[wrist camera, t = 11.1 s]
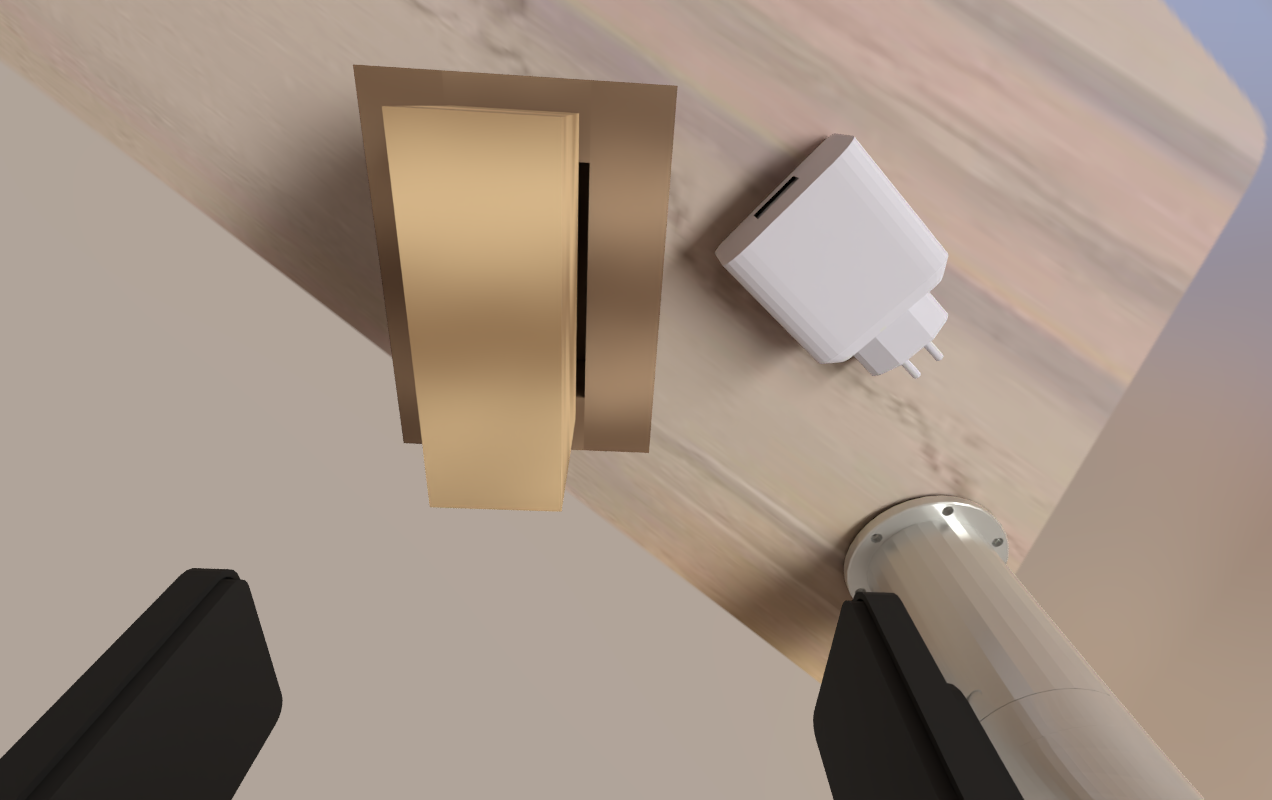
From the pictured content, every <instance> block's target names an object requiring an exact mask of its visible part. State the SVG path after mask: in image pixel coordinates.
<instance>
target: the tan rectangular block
mask: <svg viewBox="0 0 1272 800" xmlns="http://www.w3.org/2000/svg"><path fill="white" fill-rule="evenodd" d="M382 112H383V121H384V129H385V137H386V146H387V154H388V162H389V171H390V179H391V187H392V196H393V204H394V212H395V221H396V229H397V237H398V246H399V254H400V262H401V270H402V279H403V287H404V295H405V304H406V312H407V320H408V329H409V337H410V345H411V354H412V362H413V370H414V379H415V387H416V395H417V404H418V412H419V420H420V429H421V437H422V445H423V454H424V461H425V470H426V478H427V487H428V495H429V503H430V507H440V508H470V509H499V510H529V511H562V504H563V498H564V491H565V484H566V478H567V471H568V465H569V458H570V452H571V445H572V439H573V432H574V425H575V414H576V332H577V307H578V227H579V166H578V164H579V113H565V112H549V111H533V110H516V109H500V108H484V107H467V106H382Z"/></svg>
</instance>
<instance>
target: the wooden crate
mask: <svg viewBox="0 0 1272 800" xmlns="http://www.w3.org/2000/svg"><path fill="white" fill-rule="evenodd" d="M353 68H354V76H355V83H356V91H357V98H358V105H359V113H360V120H361V128H362V135H363V143H364V150H365V158H366V165H367V173H368V180H369V187H370V195H371V202H372V210H373V217H374V225H375V232H376V240H377V247H378V255H379V262H380V269H381V277H382V284H383V292H384V299H385V307H386V314H387V322H388V329H389V337H390V344H391V351H392V359H393V366H394V374H395V381H396V388H397V396H398V404H399V411H400V418H401V425H402V433H403V441H404V443H416V444H422V437H421V429H420V420H419V412H418V404H417V395H416V387H415V379H414V370H413V362H412V354H411V345H410V337H409V329H408V320H407V312H406V304H405V295H404V287H403V279H402V270H401V262H400V254H399V246H398V237H397V229H396V221H395V212H394V204H393V196H392V187H391V179H390V171H389V162H388V154H387V146H386V137H385V129H384V121H383V112H382V106H467V107H484V108H500V109H516V110H533V111H549V112H565V113H579V164H578V166H579V227H578V307H577V332H576V414H575V425H574V432H573V439H572V445H571V450H593V451H618V452H644V453H649V443H650V431H651V418H652V405H653V392H654V379H655V367H656V354H657V341H658V328H659V315H660V303H661V290H662V277H663V264H664V251H665V238H666V226H667V213H668V200H669V187H670V174H671V162H672V149H673V136H674V123H675V110H676V98H677V86H671V85H655V84H640V83H625V82H610V81H594V80H579V79H564V78H549V77H533V76H518V75H503V74H488V73H472V72H457V71H442V70H427V69H411V68H396V67H381V66H366V65H353Z"/></svg>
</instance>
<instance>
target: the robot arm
mask: <svg viewBox="0 0 1272 800" xmlns="http://www.w3.org/2000/svg"><path fill="white" fill-rule="evenodd" d="M1008 552H1009V544H1008V540H1007V535H1006V533H1005V531H1004V529H1003V527H1002V525H1001V524H1000V523H999V522H998V521H997V519H996V518H995V517H994V516H993V515H992V514H991V513H990V512H989V511H988V510H986V509H985V508H984V507H983V506H981V505H979V504H977V503H975V502H973V501H971V500H968V499H964V498H960V497H955V496H943V495H940V496H927V497H922V498H917V499H913V500H909V501H906V502H904V503H901V504H899V505H896V506H894V507H892V508H890V509H888V510H886V511H885V512H883V513H881V514H879V515H878V516H877V517H876V518H874V519H873V520H872V521H870V522H869V523H868V524H867V525H866V526H865V527H864V528H863V529H862V530H861V531H860V532H859V533H858V534H857V536H856V537H855V539H854V540H853V542H852V544H851V545H850V547H849V550H848V552H847V555H846V557H845V563H844V578H845V582H846V585H847V588H848V590H849V592H850V594H851V596H852V598H853V600H852V601H845V602H844V603H843V605H842V608H841V612H840V616H839V620H838V623H837V627H836V631H835V635H834V638H833V642H832V646H831V650H830V654H829V657H828V661H827V665H826V669H825V672H824V676H823V680H822V684H821V687H820V692H819V695H818V699H817V703H816V706H815V710H814V717H813V723H814V732H815V737H816V741H817V744H818V748H819V751H820V755H821V758H822V761H823V765H824V768H825V772H826V775H827V778H828V782H829V785H830V789H831V792H832V795H833V799H834V800H1205V799H1204V798H1203V797H1202V796H1201V794H1200V793H1199V792H1198V791H1197V790H1196V789H1195V788H1194V786H1193V785H1192V784H1191V783H1190V782H1189V781H1188V780H1187V779H1186V777H1184V775H1183V774H1182V773H1181V772H1180V771H1179V769H1178V768H1177V767H1176V766H1175V765H1174V764H1173V763H1172V761H1171V760H1170V759H1169V758H1168V757H1167V756H1166V755H1165V753H1164V752H1163V751H1162V750H1161V749H1160V748H1159V747H1158V746H1157V744H1156V743H1155V742H1154V741H1153V740H1152V739H1151V737H1150V736H1149V735H1148V734H1147V733H1146V732H1145V730H1144V729H1143V728H1142V727H1141V725H1140V724H1139V723H1138V722H1137V721H1136V720H1135V718H1134V717H1133V716H1132V715H1131V714H1130V712H1129V711H1128V710H1127V709H1126V707H1124V705H1123V704H1122V703H1121V702H1120V701H1119V700H1118V698H1117V697H1116V696H1115V695H1114V694H1113V693H1112V691H1111V690H1110V689H1109V688H1108V687H1107V685H1106V684H1105V683H1104V682H1103V681H1102V679H1101V678H1100V677H1099V676H1098V674H1097V673H1096V672H1095V671H1094V670H1093V668H1092V667H1091V666H1090V665H1089V664H1088V662H1087V661H1086V660H1085V659H1084V658H1083V656H1082V655H1081V654H1080V653H1079V652H1078V650H1077V649H1076V648H1075V647H1074V646H1073V644H1072V643H1071V642H1070V641H1069V640H1068V638H1067V637H1066V636H1065V635H1064V633H1062V631H1061V630H1060V629H1059V628H1058V626H1057V625H1056V624H1055V623H1054V621H1052V619H1051V618H1050V617H1049V616H1048V614H1047V613H1046V612H1045V611H1044V609H1043V608H1042V607H1041V606H1040V605H1039V603H1038V602H1037V601H1036V600H1035V599H1034V597H1033V596H1032V595H1031V594H1030V593H1029V591H1028V590H1027V589H1026V588H1025V587H1024V586H1023V584H1022V583H1021V582H1020V581H1019V579H1018V578H1017V577H1016V576H1015V575H1014V573H1013V572H1012V571H1011V570H1010V569H1009V567H1008V566H1007V565H1006V563H1007V560H1008ZM281 708H282V694H281V691H280V687H279V684H278V681H277V678H276V674H275V671H274V668H273V664H272V661H271V657H270V654H269V651H268V648H267V644H266V641H265V638H264V634H263V631H262V628H261V625H260V621H259V618H258V614H257V611H256V608H255V605H254V601H253V598H252V594H251V591H250V588H249V585H248V583H247V582H246V581H245V580H240V578H239V576H238V574H237V573H236V572H235V571H234V570H229V569H201V568H192V569H189V570H187V571H185V572H184V573H183V574H181V575H180V576H179V577H178V578H177V579H176V580H175V582H173V583H172V584H171V585H170V586H169V587H168V588H167V589H166V591H165V592H164V593H163V594H162V595H161V596H160V597H159V598H158V599H157V600H156V601H155V602H154V603H153V604H152V605H151V606H150V607H149V608H148V609H147V610H146V611H145V612H144V613H143V614H142V615H141V616H140V617H139V618H138V619H137V620H136V621H135V622H134V623H133V624H132V625H131V626H130V627H129V628H128V629H127V630H126V631H125V632H124V633H123V634H122V635H121V636H120V637H119V639H117V640H116V641H115V643H113V644H112V646H111V647H110V648H109V649H108V650H107V651H106V652H105V653H104V654H103V655H102V656H101V657H100V658H99V659H98V660H97V661H96V662H95V663H94V664H93V665H92V666H91V667H90V668H89V669H88V670H87V671H86V672H85V673H84V674H83V675H82V676H81V677H80V678H79V679H78V680H77V681H76V682H75V683H74V684H73V685H72V686H71V687H70V688H69V689H68V690H67V692H65V693H64V694H63V695H62V696H61V697H60V699H59V700H58V701H57V702H56V703H55V704H54V705H53V706H52V707H51V708H50V709H49V710H48V711H47V712H46V713H45V714H44V715H43V716H42V717H41V718H40V719H39V720H38V721H37V722H36V723H35V724H34V725H33V726H32V727H31V728H30V729H29V730H28V731H27V732H26V733H25V734H24V735H23V736H22V737H21V738H20V739H19V740H18V741H17V742H16V743H15V744H14V745H13V746H12V748H11V749H10V750H8V752H7V753H6V754H5V755H4V756H3V757H2V758H1V759H0V800H231V799H232V798H233V796H234V794H235V793H236V791H237V789H238V787H239V786H240V784H241V782H242V781H243V779H244V777H245V776H246V774H247V772H248V770H249V768H250V767H251V765H252V764H253V762H254V760H255V758H256V757H257V755H258V753H259V752H260V750H261V748H262V747H263V745H264V743H265V741H266V740H267V738H268V736H269V735H270V733H271V731H272V729H273V728H274V726H275V724H276V722H277V720H278V718H279V715H280V713H281Z"/></svg>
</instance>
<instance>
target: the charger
mask: <svg viewBox="0 0 1272 800" xmlns="http://www.w3.org/2000/svg"><path fill="white" fill-rule="evenodd" d="M793 176H795V177H797V178H796V179H795V180H794V181H793V182H792V183H791V184H790V185H789V186H788V187H787V188H786V189H785V190H784V191H783V192H782V193H781V194H780V195H779V196H778V197H777V198H776V199H775V200H774V201H773V202H772V203H771V204H770V205H769V206H768V207H767V208H766V209H765V210H764V211H763V212H762V213H761V214H760V215H759V216H758V217H757V218H756V217H755V216H754V214H755V213H756V212H757V211H758V210H759V209H760V208H761V207H762V206H763V205H764V204H765V203H766V202H767V201H768V200H769V199H770V198H772V197H773V196H774V195H775V194H776V193H777V192H778V191H779V190H780V189H781V188H782V187H783V186H784V185H785V184H786V183H787V182H788V181H789V180H790V179H791V178H792V177H793ZM715 255H716V256H717V258H718V259H719V261H720V263H721V264H722V266H723V267H724V268H725V269H726V270H727V271H728V272H729V273H730V274H731V275H732V276H733V277H734V278H735V279H736V280H737V281H738V282H739V283H740V284H741V285H742V286H743V287H744V288H745V289H746V290H747V291H748V292H749V293H750V294H751V295H752V296H753V297H754V298H755V299H756V300H757V301H758V302H759V303H760V304H761V305H762V306H763V307H764V308H765V309H766V310H767V311H768V312H769V313H770V314H771V315H772V316H773V317H774V318H775V319H776V320H777V321H778V322H779V323H780V325H781V326H782V327H783V328H784V329H785V330H786V331H787V332H788V333H789V334H790V335H791V336H792V337H793V338H794V339H795V340H796V341H797V342H798V343H799V344H800V345H801V346H802V347H803V348H804V349H805V350H806V351H807V352H808V353H809V354H810V355H811V356H812V357H813V358H814V359H815V360H816V361H817V362H818V363H820V364H825V363H840V362H844V361H846V360H848V359H850V358H851V357H852V356H854V357H855V358H856V359H857V360H858V361H859V362H860V363H861V364H862V365H863V366H864V367H865V368H866V369H867V370H868V371H869V372H870V373H871V375H872V376H876V375H881V374H883V373H885V372H887V371H890V370H892V369H894V368H896V367H898V366H900V365H902V366H903V367H904V368H905V369H906V370H907V371H908V373H909V374H910V375H911V376H912V377H913V378H919V377H920V375H921V373H920V372H919V371H918V369H917V368H916V367H915V366H914V365H913V364H912V363H911V362H910V361H909V360H908V359H909V358H911V357H912V356H913V355H914V354H916V353H917V352H918V351H919V350H921V349H922V348H923V347H925V348H926V349H927V351H928V352H929V353H930V354H931V355H932V356H933V357H934V359H935V360H936V361H939V360H941V359H942V358H943V354H942V353H941V352H940V351H939V350H938V348H937V347H936V346H935V345H934V344H933V343H932V342H931V341H932V340H933V339H934V338H935V336H936V335H937V333H938V332H939V331H940V329H941V328H942V326H943V325H944V324H945V322H946V321H947V317H948V314H947V312H946V311H945V310H944V309H943V308H942V307H941V305H940V304H939V303H938V302H937V301H936V299H935V298H934V297H933V296H932V295H931V293H930V291H931V290H932V289H933V288H934V287H935V286H936V285H937V284H938V283H939V282H940V281H941V280H942V277H943V274H944V270H945V266H946V262H947V258H948V253H947V252H946V250H945V249H944V248H943V247H942V245H941V244H940V243H939V242H938V240H937V239H936V238H935V237H934V235H933V234H932V233H931V232H930V230H929V229H928V228H927V227H926V225H925V224H924V223H923V222H922V220H921V219H920V218H919V217H918V215H917V214H916V213H915V212H914V210H913V209H912V208H911V207H910V205H909V204H908V203H907V202H906V200H905V199H904V198H903V197H902V196H901V194H900V193H899V192H898V191H897V189H896V188H895V187H894V186H893V184H892V183H891V182H890V181H889V179H888V178H887V177H886V176H885V174H884V173H883V172H882V171H881V169H880V168H879V167H878V166H877V164H876V163H875V162H874V161H873V159H872V158H871V157H870V156H869V154H868V153H867V152H866V151H865V149H864V148H863V147H862V146H861V144H860V143H859V142H858V141H857V139H856V138H855V137H854V136H850V135H843V134H832V135H831V136H829V137H828V138H827V139H825V140H824V141H823V142H822V143H821V144H820V145H819V146H818V147H817V148H816V149H815V150H814V151H813V152H812V153H811V154H810V155H809V156H808V157H807V158H806V159H805V160H804V161H803V162H802V163H801V164H800V165H799V166H798V167H797V168H796V169H795V170H794V171H793V172H792V173H791V174H790V175H789V176H788V177H787V178H786V179H785V180H784V181H783V182H782V183H781V184H780V185H779V186H778V187H777V188H776V189H775V190H774V191H773V192H772V193H771V194H770V195H769V196H768V197H767V198H766V199H765V200H764V201H763V202H762V203H761V204H760V205H759V206H758V207H757V208H756V209H755V210H754V211H753V212H752V213H751V214H750V215H749V216H748V217H747V218H746V219H745V220H744V221H743V222H742V223H741V224H740V225H739V226H738V227H737V228H736V229H735V230H734V231H733V232H732V233H731V234H730V235H729V236H728V237H727V238H726V239H725V240H724V241H723V242H722V243H721V244H720V245H719V246H718V248H717V249H716V251H715Z"/></svg>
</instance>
